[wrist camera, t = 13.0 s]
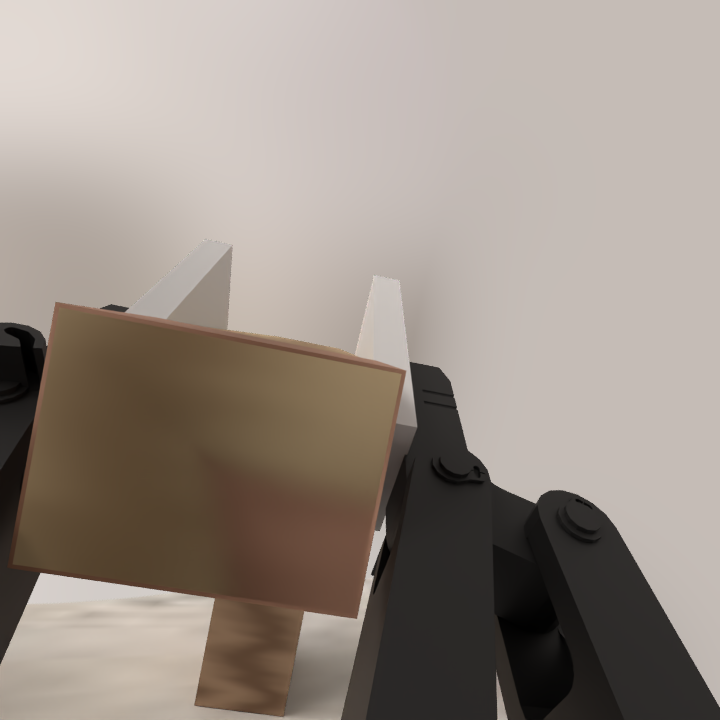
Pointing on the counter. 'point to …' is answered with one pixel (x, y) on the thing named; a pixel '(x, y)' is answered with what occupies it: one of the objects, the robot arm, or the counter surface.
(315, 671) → the counter surface
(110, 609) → the counter surface
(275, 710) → the walnut stand
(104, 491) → the tan wooden bar
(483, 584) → the robot arm
